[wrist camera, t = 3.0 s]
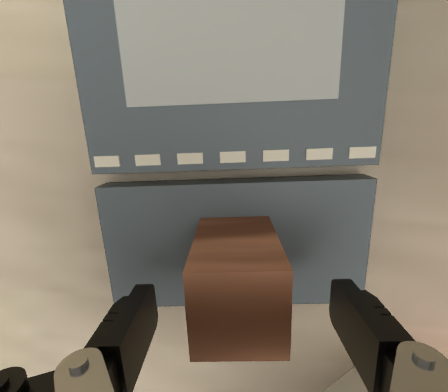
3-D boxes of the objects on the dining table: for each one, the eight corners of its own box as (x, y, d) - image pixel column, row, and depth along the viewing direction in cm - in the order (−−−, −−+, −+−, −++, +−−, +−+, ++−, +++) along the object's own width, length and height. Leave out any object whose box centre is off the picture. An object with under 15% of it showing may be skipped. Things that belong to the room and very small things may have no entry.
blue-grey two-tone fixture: (106, 182, 16) (7, 226, 9) (363, 174, 16) (476, 213, 9) (123, 293, 18) (54, 400, 11) (352, 288, 18) (435, 398, 11)
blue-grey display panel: (62, -112, 13) (35, -151, 11) (392, -134, 12) (419, -178, 11) (106, 169, 16) (91, 174, 15) (363, 160, 16) (380, 164, 14)
